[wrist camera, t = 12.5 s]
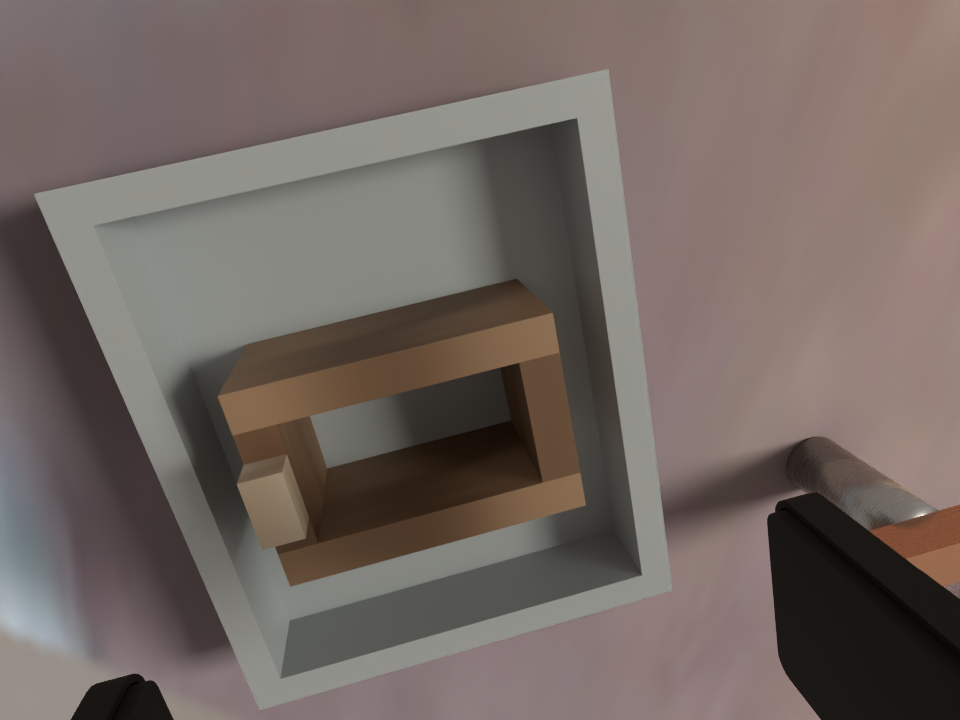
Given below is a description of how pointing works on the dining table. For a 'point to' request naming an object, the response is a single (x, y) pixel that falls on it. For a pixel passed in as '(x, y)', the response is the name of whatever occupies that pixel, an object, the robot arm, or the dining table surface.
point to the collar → (413, 470)
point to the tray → (396, 418)
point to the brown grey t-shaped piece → (881, 507)
